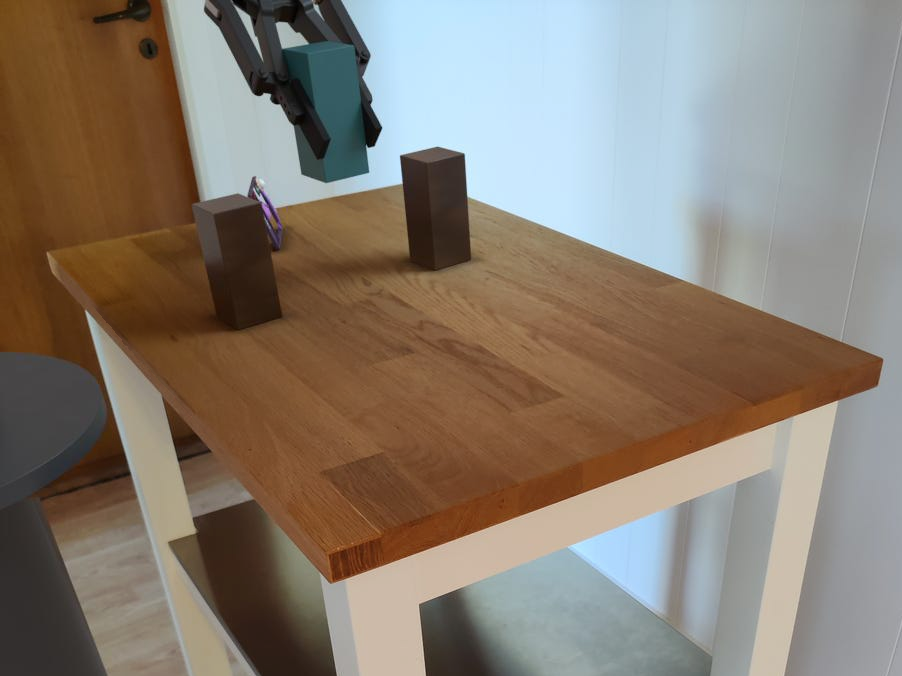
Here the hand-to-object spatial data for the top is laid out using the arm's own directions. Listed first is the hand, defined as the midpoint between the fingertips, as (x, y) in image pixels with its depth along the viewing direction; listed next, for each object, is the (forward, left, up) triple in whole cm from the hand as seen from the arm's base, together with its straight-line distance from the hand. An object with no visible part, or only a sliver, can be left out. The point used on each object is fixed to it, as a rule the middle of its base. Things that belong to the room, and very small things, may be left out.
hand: (349, 143), depth 95 cm
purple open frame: (-14, +22, -15) cm, 30 cm away
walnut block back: (+8, +10, -15) cm, 19 cm away
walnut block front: (-12, -4, -15) cm, 19 cm away
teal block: (-2, +3, -3) cm, 5 cm away
